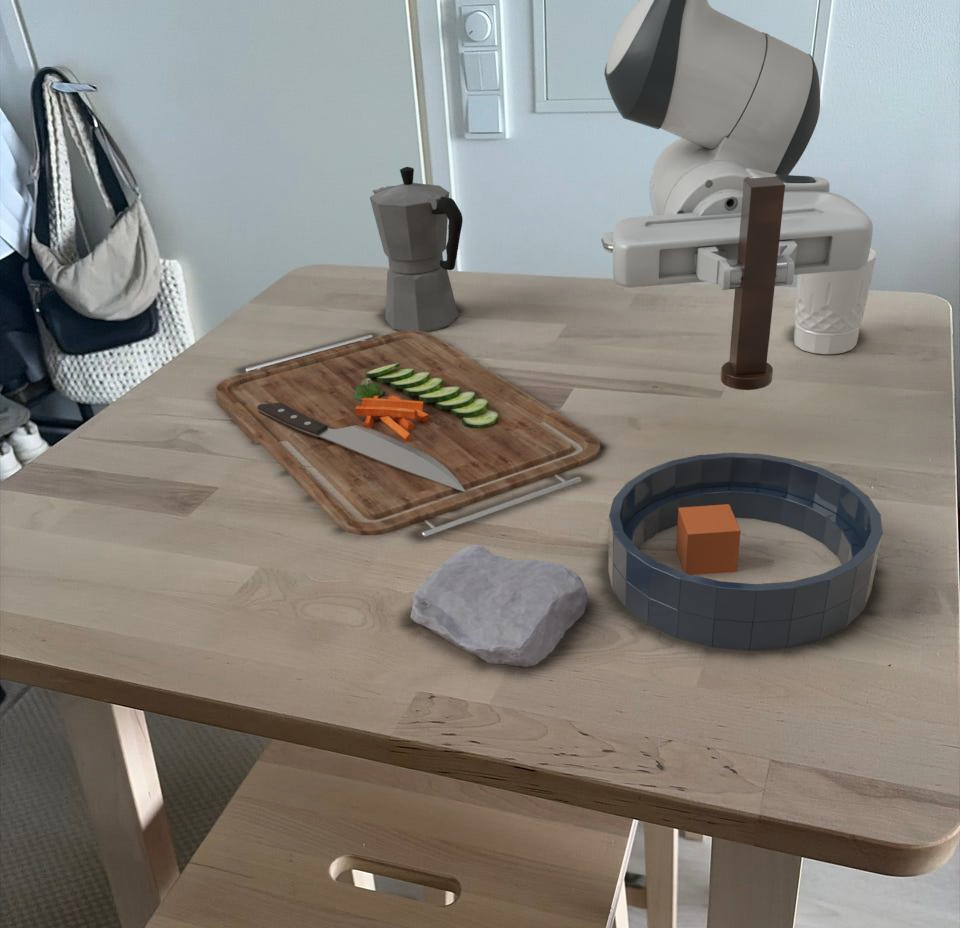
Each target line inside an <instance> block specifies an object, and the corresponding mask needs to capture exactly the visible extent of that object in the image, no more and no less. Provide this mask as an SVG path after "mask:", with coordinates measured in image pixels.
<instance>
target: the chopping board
mask: <svg viewBox="0 0 960 928" xmlns="http://www.w3.org/2000/svg"><path fill="white" fill-rule="evenodd" d="M214 394H215V398H216V402H217V404H218V406H219V407H220V408H221V409H222V410H223V412H225V414H226V415H227V416H228V418H230V419H231V421H233V423H235V424H236V426H237V427H238V428H239V429H241V430H242V432H243V433H244V434H245V435H246V436H247V437H248V438H249V439H250V440H251V442H253V443H254V444H259V445H260V446H262V447H263V448H264V449H265V450H266V451H267V452H268V453H269V454H270V455H271V457H273V458H274V460H275V461H276V462H277V463H278V464H279V465H280V466H281V467H282V469H284V470H285V471H286V472H287V473H288V474H289V475H290V476H291V478H292V479H293V480H294V481H295V482H296V483H297V484H298V485H299V486H300V487H301V488H302V489H303V490H304V491H305V492H306V494H307V495H309V497H310V498H312V499H313V501H314V502H315V503H316V504H317V505H318V506H319V507H320V508H321V509H322V510H323V511H324V512H325V514H327V515H328V517H330V519H332V520H333V522H334V523H335V524H336V525H337V526H338V527H339V528H341V529H342V530H343V531H346V532H347V533H350V534H354V535H358V536H377V535H381V534H387V533H391V532H394V531H396V530H400V529H403V528H405V527H408V526H411V525H414V524H416V523H420V522H424V523H425V524H427V526H428V527H429V529H427V530H424V531H422V532H421V533H420V534H421V535H422V536H423V537H424V538H425V537H428V536H431V535H434V534H436V533H440V532H442V531H446V530H448V529H451V528H453V527H456V526H460V525H462V524H465V523H468V522H471V521H473V520H476V519H478V518H482V517H485V516H488V515H491V514H493V513H495V512H498V511H501V510H504V509H507V508H509V507H513V506H516V505H518V504H521V503H524V502H527V501H529V500H532V499H536V498H538V497H540V496H543V495H546V494H549V493H552V492H554V491H558V490H561V489H563V488H567V487H570V486H572V485H575V484H577V483H580V482H582V481H583V480H582V478H581V477H580V476H576V477H572V478H570V479H568V480H567V479H565V478H563V477H562V476H560V475H559V474H560V473H563V472H565V471H568V470H572V469H575V468H577V467H580V466H583V465H586V464H588V463H590V462H592V461H594V460H595V459H597V457H599V455H600V454H601V441H600V440H599V439H598V438H597V437H596V435H594V434H593V433H591V432H589V431H587V430H586V429H584V428H583V427H581V426H580V425H578V424H576V423H574V422H573V421H571V420H570V419H568V418H567V417H565V416H564V415H562V414H561V413H558V412H557V411H556V410H554V409H552V408H551V407H549V406H547V405H546V404H544V403H542V402H541V401H539V400H538V399H536V398H535V397H533V396H531V395H530V394H528V393H527V392H525V391H524V390H521V389H520V388H518V387H517V386H515V385H514V384H512V383H510V382H509V381H508V380H506V379H505V378H503V377H501V376H499V375H498V374H496V373H494V372H493V371H492V370H490V369H488V368H487V367H485V366H484V365H482V364H480V363H479V362H477V361H475V360H473V359H472V358H471V357H469V356H467V355H466V354H464V353H462V352H461V351H459V350H458V349H457V348H454V347H453V346H452V345H450V344H448V343H446V342H445V341H444V340H442V339H441V338H438V337H437V336H435V335H434V334H432V333H430V332H425V331H417V330H409V331H396V332H392V333H388V334H383V335H380V336H376V337H374V336H373V334H368V335H364V336H360V337H356V338H352V339H348V340H345V341H342V342H338V343H333V344H330V345H326V346H322V347H319V348H315V349H312V350H311V349H310V350H308V351H304V352H301V353H296V354H294V355H293V354H292V355H290V356H286V357H283V358H278V359H275V360H271V361H268V362H264V363H260V364H256V365H252V366H248V367H246V368H245V373H241V374H238V375H234V376H230V377H228V378H226V379H223V380H222V381H220V382H219V383H217V385H216V387H214ZM542 423H545V424H547V425H548V426H550V427H551V428H553V429H554V430H556V431H557V432H559V433H560V434H562V435H564V436H565V437H567V438H568V439H569V440H571V441H573V442H574V443H576V444H578V445H579V446H580V447H581V449H582V450H581V451H579V452H577V453H575V452H576V447H574V446H573V444H572V443H571V442H570V441H569V440H566V439H565V438H564V437H562V436H561V435H559V434H557V433H556V432H554V431H552V429H550V428H548V427H547V426H545V425H544V424H542ZM281 442H287V443H289V445H291V446H292V447H293V448H294V449H295V450H296V451H297V452H298V453H299V454H300V456H302V457H303V458H304V459H305V460H306V461H307V462H308V463H309V464H310V466H312V468H314V469H315V470H316V471H317V472H318V473H319V474H320V475H321V476H322V477H323V478H324V479H325V480H326V481H328V483H329V484H330V485H331V486H332V487H333V488H334V489H335V490H336V491H337V492H338V493H339V494H340V495H341V496H342V497H343V499H345V500H346V501H347V502H348V503H349V504H350V505H351V506H352V507H353V508H354V509H355V510H356V511H357V512H358V513H359V514H360V515H361V516H362V517H363V518H365V519H366V520H368V521H367V522H366V521H361V520H359V519H357V518H355V517H353V516H352V515H351V514H350V513H349V512H348V511H347V510H346V508H345V507H343V506H342V505H341V504H340V502H339V501H338V500H336V498H334V497H333V495H332V494H331V493H330V492H329V491H328V490H327V489H326V488H325V487H323V486H322V484H321V483H320V482H319V481H318V480H317V479H316V478H315V477H313V475H312V474H311V473H310V472H309V471H308V470H307V469H306V468H305V467H304V466H303V465H302V464H301V463H300V462H299V461H298V460H297V459H296V458H295V457H294V456H293V455H292V454H291V453H290V452H289V451H288V449H286V448H285V447H284V446H283V445H282V444H281ZM574 453H575V454H574ZM551 476H553V477H554V478H556V479H557V480H559V481H560V482H559V483H556V484H554V485H551V486H548V487H545V488H542V489H538V490H537V491H534V492H531V493H528V494H526V495H522V496H519V497H517V498H514V499H511V500H508V501H505V502H502V503H500V504H497V505H494V506H491V507H489V508H486V509H483V510H480V511H477V512H474V513H472V514H468V515H466V516H463V517H461V518H457V519H455V520H452V521H449V522H445V523H443V524H441V525H438V526H436V525H435V524H433V523H432V522H431V521H430V520H429V519H431V518H434V517H437V516H440V515H443V514H445V513H449V512H451V511H454V510H457V509H459V508H462V507H465V506H468V505H471V504H474V503H477V502H479V501H483V500H485V499H488V498H491V497H494V496H497V495H500V494H503V493H505V492H509V491H511V490H515V489H517V488H521V487H523V486H525V485H529V484H532V483H535V482H537V481H541V480H544V479H546V478H548V477H551ZM499 479H500V480H499ZM496 480H497V481H496ZM487 483H488V484H487ZM473 488H474V489H473ZM455 494H456V495H455ZM449 496H450V497H449ZM446 497H447V498H446ZM443 498H445V499H443ZM435 501H436V502H435ZM426 504H427V505H426ZM423 505H424V506H423ZM420 506H421V507H420ZM417 507H418V508H417ZM414 508H416V509H414ZM411 509H412V510H411ZM408 510H410V511H408ZM405 511H407V512H405ZM402 512H404V513H402ZM400 513H401V514H400ZM397 514H398V515H397ZM393 515H395V516H393ZM390 516H391V517H390ZM387 517H389V518H387ZM382 519H383V520H382ZM378 520H379V521H378Z"/></svg>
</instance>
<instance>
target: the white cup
mask: <svg viewBox="0 0 960 928" xmlns="http://www.w3.org/2000/svg"><path fill="white" fill-rule="evenodd" d="M877 254H878V253H877V251H876V250H875V249H873V248H872V247H870V253H869V257H868V260H867V263H866V264H865V265H864V266H863V267H862V268H860V269H858V270H852V271H836V272H823V273H811V274H798V275H796V287H795V298H794V299H795V300H794V301H795V303H794V331H793V342H794V346H795V347H797V348H798V349H800V350H801V351H805V352H807V353H811V354H815V355H816V354H818V355H837V354H843V353H846V352H850V351H852V350H853V349H854V348H855V347H856V346H857V344H858V339H859V335H860V330H861V323H862V322H863V318H864V315H865V309H866V305H867V302H868V298H869V293H870V288H871V282H872V280H873V279H872V278H873V274H874V268H875V265H876V260H877Z"/></svg>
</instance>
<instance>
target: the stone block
mask: <svg viewBox="0 0 960 928" xmlns="http://www.w3.org/2000/svg"><path fill="white" fill-rule="evenodd" d="M588 596H589V594H588V590H587V588H586V587H585V585H584V582H583V580H582V578H581V576H580V575H579V573H577V572H576V571H573V570H572V569H569V568H566V567H565V566H564V565H563V564H559V563H558V564H557V563H554V562H550V561H549V562H548V561H544V560H537V559H534V558H533V559H526V560H515V559H509V558H507V557H505V556H503V555H499V554H495V553H494V552H491V551H490V550H489V549H487V548H486V547H484V545H480V544H471V545H468V546H466V547H465V548H462V549H461V550H460V551H458V552H457V553H454V554H452V555H451V556H450V557H449V558H447V559H446V560H445V561H444V562H442V563H441V564H440V565H439V566H437V568H435V570H433V571H432V572H431V573H430V574H429V575H428V576H426V577H425V579H424V580H423V582H422V583H421V584H420V585H419V587H418V588H417V589H416V590H415V592H414V594H413V595H412V597H411V606H412V607H411V608H412V609H411V613H410V619H411V620H412V622H414V623H415V624H418V625H420V626H422V627H425V628H427V629H429V630H430V632H432V633H434V634H435V635H437V636H440V637H441V638H443V639H445V640H446V641H448V642H449V643H450V644H452V645H454V646H455V647H457V648H460V649H462V650H464V651H466V652H467V653H468V654H470V655H473V656H476V657H478V658H479V659H481V660H483V661H485V662H486V663H488V664H495V665H496V664H499V665H501V664H502V665H508V666H514V667H523V668H531V667H534V666H536V665H538V664H539V663H540V662H542V661H543V660H545V659H546V658H547V657H548V656H549V654H550V653H552V652H553V651H554V650H555V649H556V646H557V645H558V644H559V642H560V640H562V639H563V637H564V636H565V633H566V631H568V630H569V629H570V628H571V627H572V626H573V625H574V624H575V623H576V622H577V621H578V620H579V619H580V618H582V617H583V615H584V614H585V611H586V608H587V604H588Z"/></svg>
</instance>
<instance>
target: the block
mask: <svg viewBox="0 0 960 928" xmlns="http://www.w3.org/2000/svg"><path fill="white" fill-rule="evenodd" d="M741 531H742V530H741V528H740V525H739V523H738V520H737V518H735V516H734V514H733V512H732V510H731V507H730V505H729V504H724V505H710V506H696V507H682V508H678V523H677V525H676V539H675V540H676V543H675V549H676V553H677V556H678V559H679V561H680V564H681V565H680V566H681V567H682V570H683V571H682V572H683V573H685V574H690V575H694V576H698V575H709V574H710V575H711V574H723V573H724V574H725V573H736V572H737V570H738V560H739V551H740V542H741Z"/></svg>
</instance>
